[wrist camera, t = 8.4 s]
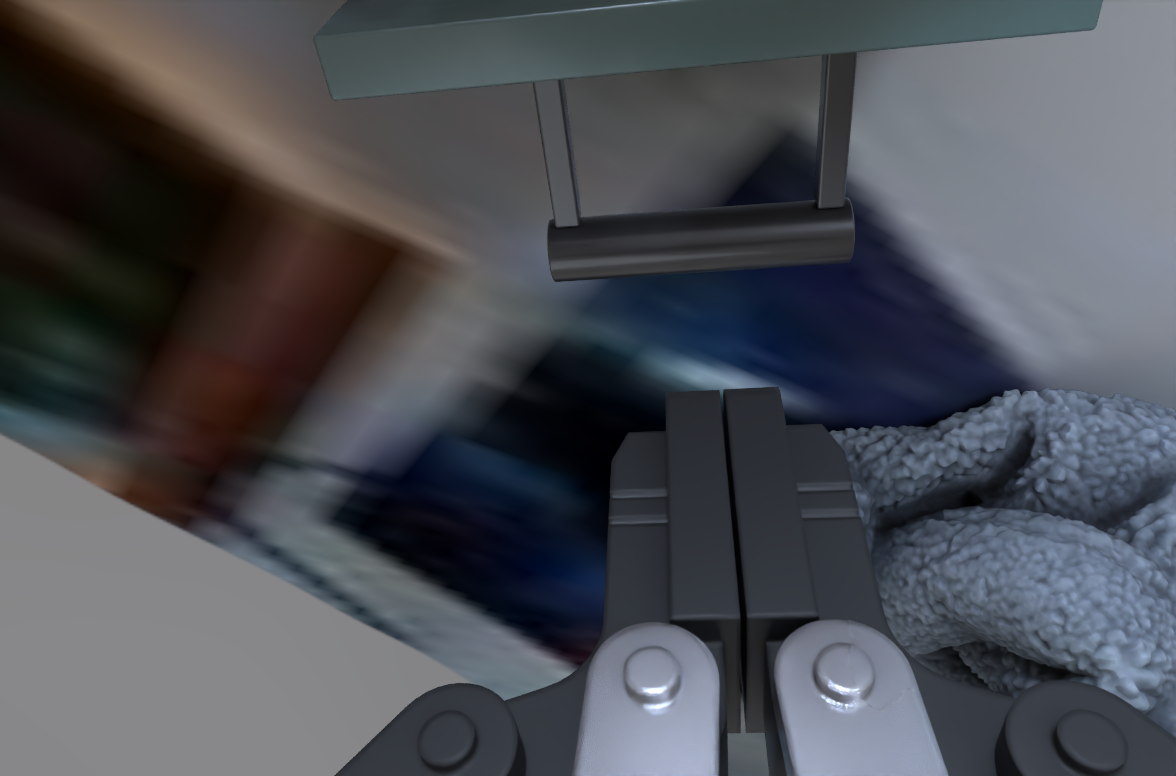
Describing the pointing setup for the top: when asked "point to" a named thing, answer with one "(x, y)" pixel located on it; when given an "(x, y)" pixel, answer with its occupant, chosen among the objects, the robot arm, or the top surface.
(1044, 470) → the koala plush
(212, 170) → the top surface
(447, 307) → the top surface
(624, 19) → the drawer
